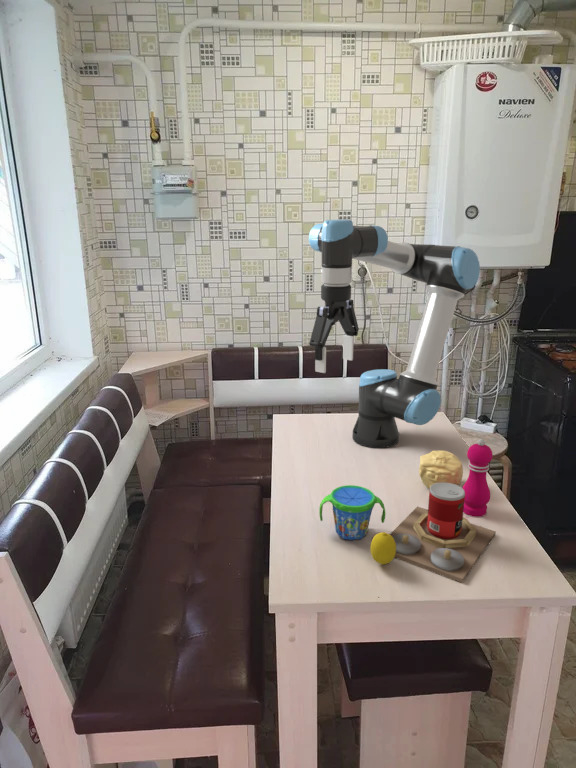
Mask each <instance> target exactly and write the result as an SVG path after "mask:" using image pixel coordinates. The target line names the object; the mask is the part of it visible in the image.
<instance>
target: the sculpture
mask: <svg viewBox="0 0 576 768" xmlns="http://www.w3.org/2000/svg"><path fill="white" fill-rule="evenodd" d="M418 473H419V478H420V480H421V481H422V483H423V485H424V487H426V488H427V489H428V490H430V487H431V485H433V484H435V483H452V484H455V485H458V486H460V485H461V483H462V480H463V477H464V468H463V463H462V462H461V460H460V458H458V456H456V455H455V454H454V453H452V452H450V451H447V450H432V451H431V452H428V453H426V454H423V455H420V457H419V466H418Z"/></svg>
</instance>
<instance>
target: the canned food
mask: <svg viewBox="0 0 576 768" xmlns="http://www.w3.org/2000/svg"><path fill="white" fill-rule="evenodd" d="M428 494H429V495H428V507H427V510H428V518H427V528H428V531H429V532H430V533H431V534H432V535H433V536H435V537H438V538H441V539H454V538H456V537H458V536H459V535H460V533H461V529H462V519H463V517H464V512H463V510H464V500H465V491H464V489H463V487H461V486H460V485H459V486H458V485H455V484H452V483H435V484H433V485H431V487H430V489H429V493H428Z"/></svg>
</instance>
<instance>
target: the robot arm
mask: <svg viewBox="0 0 576 768" xmlns="http://www.w3.org/2000/svg"><path fill="white" fill-rule="evenodd" d="M388 236H389V235H388V232H387V231H386V229H385V228H383V227H382V226H380V225H372V224H371V225H354V222H353V221H352V220H351V219H327V220H324V221H323V222H322V223H317V224H315V225H313V226H312V227H311V229H310V231H309V234H308V243H309V246H310V248H311V249H312V250H314V251H315V252H319V253H321V270H320V272H321V277H320V278H321V281H320V282H321V283H322V285H320V288H321V289H320V298H321V300H322V301H324V306H317V307H316V317H315V320H314V325H313V328H312V332H311V336H310V339H309V345H308V346H310V347H314V360H315V361H314V364H315V365H314V370H315V371H314V372H317V373H322V374H326V372H327V347H325V345H326V342H327V340H328V338H329V335H330V333H331V330H332V328H333V326H334V325H335V324H336V323H337V322H338V323H339V324H340V326H341V327H342V330H343V332H344V334H345V335H343V339H342V347H343V348H342V360H347V361H350V362H351V361H353V360H354V337H358V335H359V330H360V329H359V328H360V327H359V324H358V320H357V317H356V312H355V308H354V306H355V305H354V300H353V299H351V298H352V285H351V283H352V277H353V272H352V269H353V268H352V267H353V260H356V261H359V262H364V263H368V264H372V265H376V266H379V267H384V268H387V269H391V270H392V272H394V273H395V274H397V275H402V276H403V277H407V278H408V279H413V280H415V281H417V282H421V283H426V284H425V288H426V290H427V292H428V296H427V299H426V303H425V307H424V310H423V313H422V317H421V320H420V323H419V326H418V329H417V333H416V337H415V339H414V344H413V347H412V350H411V354H410V356H409V360H408V364H407V367H406V370H405V371H402V372H400V373H399V377H398V373H397V371H395V370H393V369H386V368H385V369H383V368H381V369H380V368H379V369H372V370H367V371H364V372H363V373H361V375H360V377H359V384H358V416H357V418H356V422H355V424H354V425H353V426H354V427H353V430H352V435H351V436H352V440H353V441H354V442H355V443H356V444H357V445H361V446H363V447H369V448H377V449H379V448H381V449H382V448H390V447H392V446H395V445H397V444H398V442H399V440H400V432H399V428H398V425H397V422H396V419H399V420H401V421H404V422H406V423H408V424H414V425H417V426H423V425H426V424H428V423H429V422H430V421H432V420H433V419H434V418H435V417H436V415H437V413H438V411H439V409H440V408H441V403H442V399H441V398H442V395H441V394H440V392H439V391H438V390H437V388H438V381H437V380H436V378H435V376H436V373H437V371H438V366H439V364H440V360H441V357H442V353H443V352H444V351H443V350H444V347H445V344H446V340H447V337H448V333H449V330H450V327H451V324H452V320H453V317H454V314H455V310H456V307H457V303H458V301H459V300H461V299H462V298H464V297H465V295H466V292H467V290H470V289H472V288H474V287H475V285H476V284H477V283H478V281H479V278H480V273H481V271H480V270H481V268H480V261H479V257H478V255H477V253H476V252H475V251H474V250H473V249H471V248H468V247H463V246H456V245H455V246H453V245H439V244H438V245H437V244H422V243H421V244H419V243H418V244H415V243H414V244H413V243H409V242H406V241H405V242H404V241H403V242H400V243H397V242H393V241H391V240H389V237H388ZM395 418H396V419H395Z"/></svg>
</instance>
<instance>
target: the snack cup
mask: <svg viewBox="0 0 576 768" xmlns="http://www.w3.org/2000/svg"><path fill="white" fill-rule="evenodd" d="M328 502H329V503H331V505H332V513H333V521H334V530H335V533H336V534H337V535H338V536H339V537H340V538H342V539H343V540H349V541H355V540H360V541H361V540H362V539H363V538H364V537H365V536H366V535H367V533H368V530H369V527H370V526H369V525H370V520H371V515H372V511H373V510H374V507H375V504H379V505H380V508H382V512H381V513H382V514H381V517H380V519H381V523H382V524H383V523H384V522H385V520H386V507H385V504H384V502H383V501H382V499H381V498H380V497H378V496H377V495H375V493H374V492H373V491H372V490H371V489H368V488H366V487H363V486H359V485H354V484H351V485H349V484H348V485H347V484H346V485H341V486H338V487H335V488H334V489H333V490H332V491H331V493H329V494H327V495H326V496H325V497H324V498H322V500H321V501H320V505H319V507H318V508H319V510H318V511H319V512H318V513H319V520H320V522H323V520H324V519H323V506H324V505H325V504H326V503H328Z"/></svg>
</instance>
